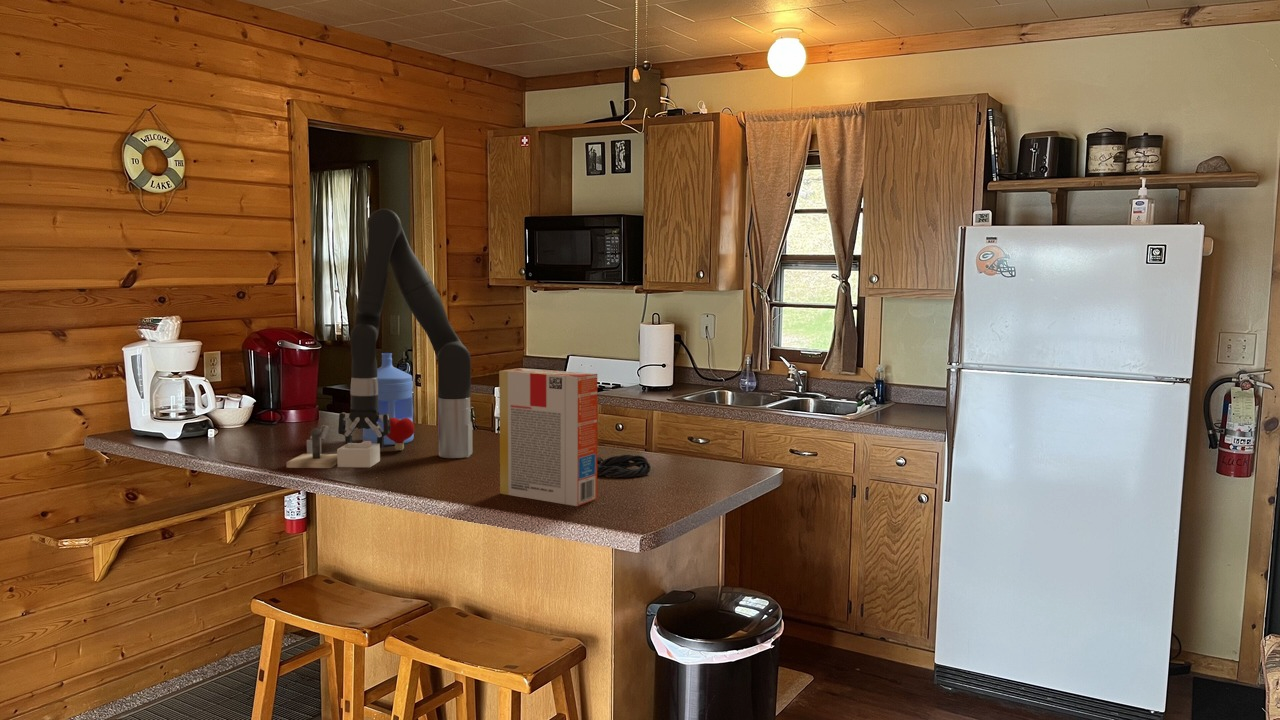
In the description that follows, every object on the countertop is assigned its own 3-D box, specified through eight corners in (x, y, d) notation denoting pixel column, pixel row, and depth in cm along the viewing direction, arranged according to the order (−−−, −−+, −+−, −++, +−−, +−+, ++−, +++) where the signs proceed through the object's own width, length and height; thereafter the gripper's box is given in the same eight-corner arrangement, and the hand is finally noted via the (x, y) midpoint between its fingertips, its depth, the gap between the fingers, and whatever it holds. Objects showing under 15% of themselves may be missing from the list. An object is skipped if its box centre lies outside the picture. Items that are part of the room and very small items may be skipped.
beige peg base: (345, 459, 265) (344, 425, 264) (330, 468, 253) (329, 432, 252) (303, 458, 265) (302, 424, 264) (286, 467, 253) (285, 431, 252)
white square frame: (383, 458, 266) (383, 441, 266) (370, 467, 254) (369, 449, 254) (352, 458, 267) (352, 440, 266) (337, 467, 254) (337, 449, 254)
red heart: (418, 449, 280) (417, 416, 279) (410, 453, 273) (409, 420, 273) (388, 448, 281) (388, 416, 280) (380, 453, 274) (379, 419, 273)
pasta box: (597, 499, 220) (597, 373, 217) (577, 506, 213) (577, 376, 211) (520, 487, 232) (520, 368, 229) (500, 493, 225) (499, 370, 222)
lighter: (310, 455, 270) (309, 428, 270) (306, 454, 271) (305, 427, 270) (329, 451, 276) (329, 424, 276) (325, 450, 277) (325, 424, 277)
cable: (658, 472, 252) (658, 456, 252) (638, 482, 240) (638, 465, 239) (601, 466, 259) (601, 451, 259) (578, 476, 246) (579, 460, 246)
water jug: (359, 439, 297) (357, 352, 295) (408, 435, 304) (407, 350, 301) (366, 447, 283) (364, 356, 281) (418, 443, 290) (417, 354, 287)
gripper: (393, 392, 267) (393, 447, 268) (343, 390, 267) (344, 446, 268) (385, 395, 259) (385, 452, 261) (335, 394, 260) (335, 451, 261)
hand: (364, 449), depth 265 cm, fingers open, 8 cm apart
